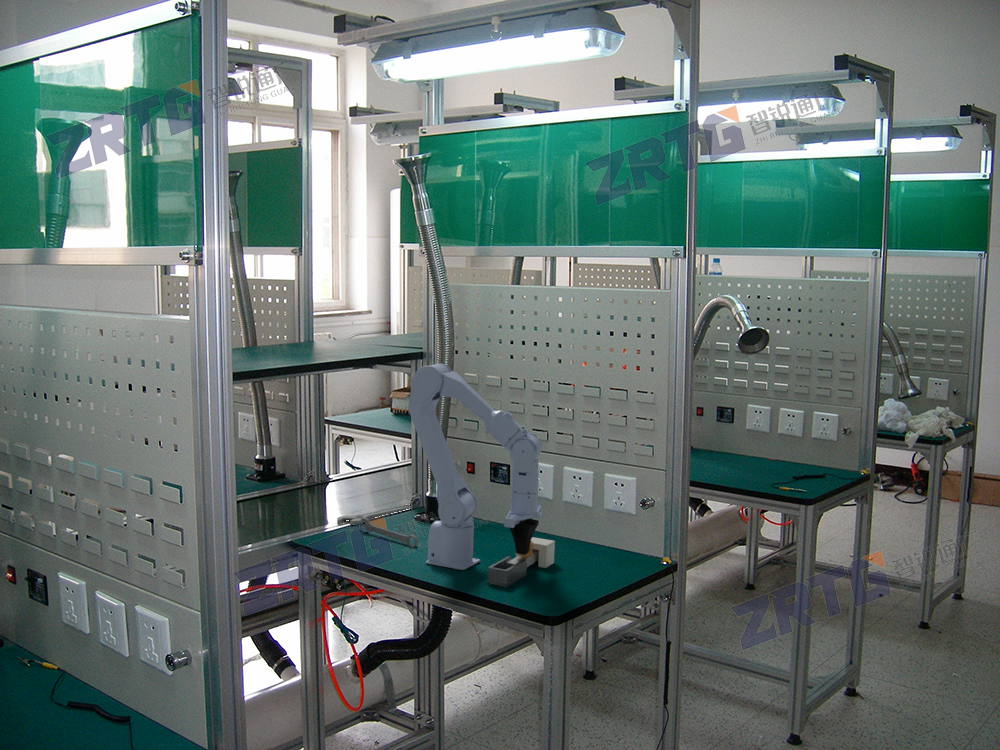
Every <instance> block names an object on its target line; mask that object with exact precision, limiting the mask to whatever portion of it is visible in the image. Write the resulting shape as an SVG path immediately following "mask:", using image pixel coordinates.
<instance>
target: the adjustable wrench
mask: <svg viewBox="0 0 1000 750" xmlns="http://www.w3.org/2000/svg"><path fill="white" fill-rule="evenodd" d="M410 505H411V504H402V505H397V506H392V507H389V508H384V509H380V510H376V511H371V512H367V513H362V514H353V515H350V514H349V515H342V516H338V517H337V520H336V521H337V522H336V524H337V525H341V523H342V524H343V522H344V523H349V526H350V525H353V524H358V523H362V522H363V521H362V520H361V519H360V518H367V519H371V520H373V519H372V518H375V517H379V516H382V515H386V514H391V513H394V512H399V511H403V510H406V509H409V508H410V507H411V506H412V505H411V506H410ZM379 518H380V517H379ZM375 519H376V518H375ZM346 520H349V521H346Z"/></svg>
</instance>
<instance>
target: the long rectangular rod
mask: <svg viewBox="0 0 1000 750" xmlns="http://www.w3.org/2000/svg"><path fill="white" fill-rule="evenodd" d="M524 559H527V568H528V567H530V566H531V565H533V564H535V563H537V562H538V560H539V551H537V550H533V541H531V543H530V546H529V550H528V553H527V554H526V555H522V554H519V556H517V557H516V556H515V557H514V558H511V560H510V561H508V562H507V563H506V569H508V568H510V567H511V566H513V565H515V564H517V563H518V562H520V561H522V560H524Z"/></svg>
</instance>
